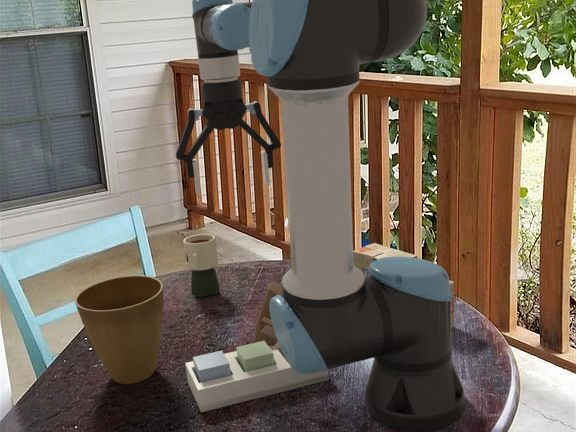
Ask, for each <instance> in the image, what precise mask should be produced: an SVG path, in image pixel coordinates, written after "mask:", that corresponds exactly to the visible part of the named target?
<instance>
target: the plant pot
mask: <svg viewBox="0 0 576 432" xmlns="http://www.w3.org/2000/svg"><path fill="white" fill-rule="evenodd" d="M74 303H75V306H76V309H77V311H78V314H79V317H80V319H81V323H82V324H83V325H82V326H83V327H84V329H85V332H86V334H87V336H88V339H89V340H90V341H89V342H91V345H92V347H93V349H94V351H95V352H96V355H97V356H98V358H99V360H100V361H101V363H102V365H103V366H104V368H105V370H106V371H107V372H108V374H109V375H110V377H111V378H112V379H113V381H114V382H116V383H118V384H122V385H130V384H131V385H132V384H136V383H140V382H143V381H145V380H147V379H148V378H150V377H151V376H152V375H153V374H154V372H155V369H156V365H157V361H158V356H159V353H160V352H159V351H160V346H161V337H162V330H163V319H164V317H163V316H164V314H163V313H164V286H163V282H162V281H161V280H159V279H158V278H156V277H153V276H148V275H141V274H140V275H139V274H137V275H136V274H135V275H134V274H133V275H125V276H117V277H113V278H108V279H104V280H102V281H99V282H95V283H93V284H91V285H90V286H87V287H85V288H84V289H82V290H81V291H80V292H79V293H78V294H76V297H75V299H74Z"/></svg>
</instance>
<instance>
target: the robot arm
mask: <svg viewBox="0 0 576 432" xmlns="http://www.w3.org/2000/svg"><path fill="white" fill-rule="evenodd" d="M191 5H192V14H191V17H192V19H193V25H194V34H195V41H196V50H197V60H198V66H199V67H198V68H199V76H200V77H199V79H201V80H202V83H201V93H202V94H201V95H202V103H203V104H202V105H203V106H202V108H201V109H199V108H197V109H196V108H195V109H194V108H192V107H191V108H189V109H188V110H187V122H186V123H185V127H184V130H183V133H182V135H181V137H180V141H179V144H178V147H177V149H176V152H175V158H176V159H177V160H178V161H183V162H185V164H186V171H187V176H188V178H189V179H193V180H194V186H195V187H194V188H195V194H196V196H201V188H200V187H201V185H200V180H199V179H200V177H199V171H198V170H199V169H198V162H197V159H196V158H195V157H196V155H197V154H198V152H199V151H200V150H201V148H202V147H203V145H204V144H205V142H206V140H208V137H209V136H210V134H211V133H213V131H214V130H217V131H223V130H224V131H225V130H226V129H229V130H230V129H231V130H233V129H236V128H237V127H239V126H240V127H241V129H243V130H244V132H246V133H247V134H248V135H249V136H250V137H251V138H252V139H253V140H254V141H255V142H256V143H257V144H258V145H260V146H261V148H263V149H264V150H261V151H260V155H261V165H262V177H263V184H264V185H265V187H270V186H271V184H270V183H271V182H270V172H269V171H270V170H269V169H273V167H274V157H273V152H274V150H276V149H279V148H281V147H282V143H281V142H280V140H279V138H278V136H277V134H276V133H275V131H274V130H273V129H272V127H271V126H270V124H269V123H268V121H267V119H266V118H265V116H264V114H263V111H262V108H261V104H260V102H258V101H257V100H254V101H252V102H250V103H246V104H245V101H244V97H243V87H242V86H243V85H242V81H241V79H239V77H240V75H241V66H240V58H239V50H240V51H241V50H244V49H247V48H249V52H250V54H251V55H250V56H251V57H250V59H251V63H252V66H253V68H254V71H255V72H256V73H257V74H258V75H260V76H263V77H264V78H266V77H267V88H268V89H269V91H271V92H273V94H274V95H276V96H277V98H279V99H280V104H281V105H280V106H281V109H280V110H281V124H282V136H283V137H282V138H283V151H284V152H283V153H284V154H283V155H284V167H285V183H286V185H285V186H286V199H287V213H288V214H287V216H288V231H289V232H288V233H289V247H290V260H291V261H290V262H291V268H290V269H289V270H288V271H287V272H285V274H283V276H282V278H281V285H282V295H276V296H275V297H273V298H271V300H270V304H269V310H270V316H271V321H272V325H273V328H274V332H275V335H276V338H277V340H278V343H279V345H280V348H281V350H282V352H283V354H284V356H285V358H286V360H287V361H288V363H289V364H290V366H291V367H292V368H293V369H294V370H295V371H296V372H298V373H301V374H309V373H314V372H319V371H324V372H326V371H328V372H329V370H331V369H335V368H339V367H343V366H347V365H351V364H355V363H357V362H361V361H362V362H363V361H365V360H369V359H373V362H372V364H371V365H372V367H371V369H370V372H369V376H368V379H367V382H366V386H365V388H364V390H365V391H364V397H365V399H364V400H365V401H364V402H365V403H364V404H365V408H366V411H367V412H368V414H369V416H370V417H371V418H373V419H374V420H375V421H376V422H378V423H379V424H382V425H385V426H387V427H390V428H392V429H397V430H403V431H409V432H411V431H412V432H414V431H415V432H422V431H430V430H436V429H440V428H443V427H445V426H448V425H451V424H452V423H453V422H455V421H456V420H458V419H459V418H460V417H461V416H462V415H463V412H464V410H465V405H466V403H465V390H464V387H463V384H462V382H461V378H460V376H459V374H458V371H457V368H456V366H455V363H454V360H453V354H452V350H453V349H452V348H453V347H452V328H451V300H452V295H451V289H450V281H451V280H450V277H449V274H448V272H447V271H446V270H445V269H444V268H443V267H442V266H440V265H439V264H437V263H435V262H432V261H429V260H426V259H422V258H419V257H417V258H412V257H384V258H380V259H377V260H375V261H374V262H372V263H371V264H370V267H369V270H368V273H369V274H370V275H369V276H367V277H365V276H364V274H363V272H362V271H361V270H359V269H358V268H357V267H356V266H354V265H353V251H354V246H353V245H354V242H353V241H354V240H353V236H354V235H353V214H352V213H353V212H352V211H353V210H352V185H351V184H352V182H351V179H352V177H351V174H352V173H351V149H350V148H351V147H350V124H349V123H350V119H349V118H350V117H349V115H350V114H349V95H350V94H351V93H352V91H353V90H354V89H355V88H356V87H357V86H358V85H359V84H360V65H363V64H371V63H378V62H382V61H386V60H390V59H393V58H395V57H398V56H399V55H402V54H403V53H404V52H406V51H407V50H408V49H410V48H411V47H412V46H413V45H414V44H415V43H416V42H417V41H418V40H419V38H420V36H421V35H422V34H423V31H424V29H425V27H426V24H427V23H426V22H427V19H428V6H427V0H252V1H250V2H248V1H247V2H234V0H192V2H191ZM203 81H204V82H203ZM247 111H249V112H250V114H251V115H254V116H255V117H256V120H257V121H258V122H259V124H260V125H261V127H262V129H263V130H264V132H265V134H266V135H267V137H268V139H270V141H271V142H270V143H268V142H267V141H266V140H265V139H264V138H263V137H262V136H261V135H260V134H258V133H257V132H256V130H255V129H253V127H252V126H250V125H249V124H248V123H247V122H246V121H245V120H244V119H243V118H244V116H245V114H246V113H247ZM201 116H203V117H204V119H205V120H206V121H207V122H206V124H205V125H204V127H203V129H202V131H201V132H200V134H199V135H198V136H197V138H196V140H195V141H194V142H193V144H192V145H191V147H190V149H188V151H187V153H186V149H187V146H188V143H189V142H190V141H189V140H190V137H191V135H192V132H193V130H194V127H195V123H196V122H197V121H199V119H200V118H201ZM449 280H450V281H449Z"/></svg>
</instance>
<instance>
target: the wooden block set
mask: <svg viewBox="0 0 576 432" xmlns="http://www.w3.org/2000/svg"><path fill="white" fill-rule="evenodd" d="M276 295H282V284H279V283H275V282H274V283H270V284H269V285H268V287H267V289H266V292H265V294H264V298H263V302H262V303H261V304H262V305H261V307H260V310H259V314H258V316H257V319H256V322H255V326H254V331H255V337H254V340H253V343H257V342H261V341H265V342H266V344H267V345H268V346H274V345H275V344H276V342H278V340H277V338H276V335H275V332H274V328H273V325H272V321H271V316H270V310H269V304H270V300H271V298H273V297H275V296H276Z"/></svg>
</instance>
